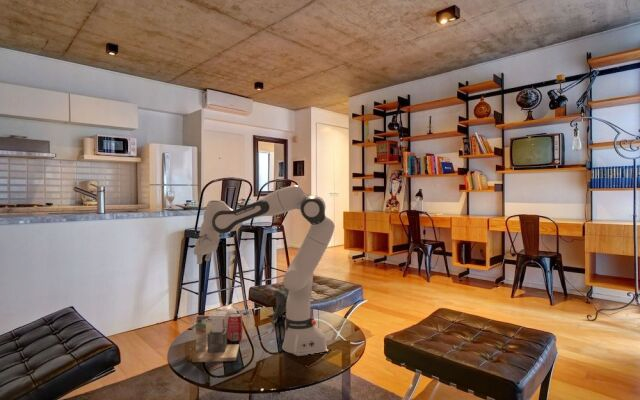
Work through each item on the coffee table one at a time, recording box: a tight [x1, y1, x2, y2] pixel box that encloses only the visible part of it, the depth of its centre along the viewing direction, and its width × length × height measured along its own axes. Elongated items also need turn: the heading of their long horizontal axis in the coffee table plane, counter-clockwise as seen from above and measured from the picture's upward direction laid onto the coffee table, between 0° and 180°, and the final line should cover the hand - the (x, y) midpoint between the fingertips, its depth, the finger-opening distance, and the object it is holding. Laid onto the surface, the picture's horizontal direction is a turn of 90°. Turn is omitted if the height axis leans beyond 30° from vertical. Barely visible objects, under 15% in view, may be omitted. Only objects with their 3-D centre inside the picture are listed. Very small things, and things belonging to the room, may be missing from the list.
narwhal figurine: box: [266, 286, 289, 321], centre depth 212 cm, size 14×15×18 cm
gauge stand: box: [191, 314, 240, 363], centre depth 161 cm, size 18×14×17 cm
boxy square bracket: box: [196, 310, 227, 334], centre depth 162 cm, size 12×7×10 cm, turn 97°
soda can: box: [227, 312, 244, 342], centre depth 178 cm, size 7×7×12 cm
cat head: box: [209, 303, 238, 331], centre depth 192 cm, size 15×13×12 cm
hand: (203, 262), depth 172 cm, fingers open, 8 cm apart
